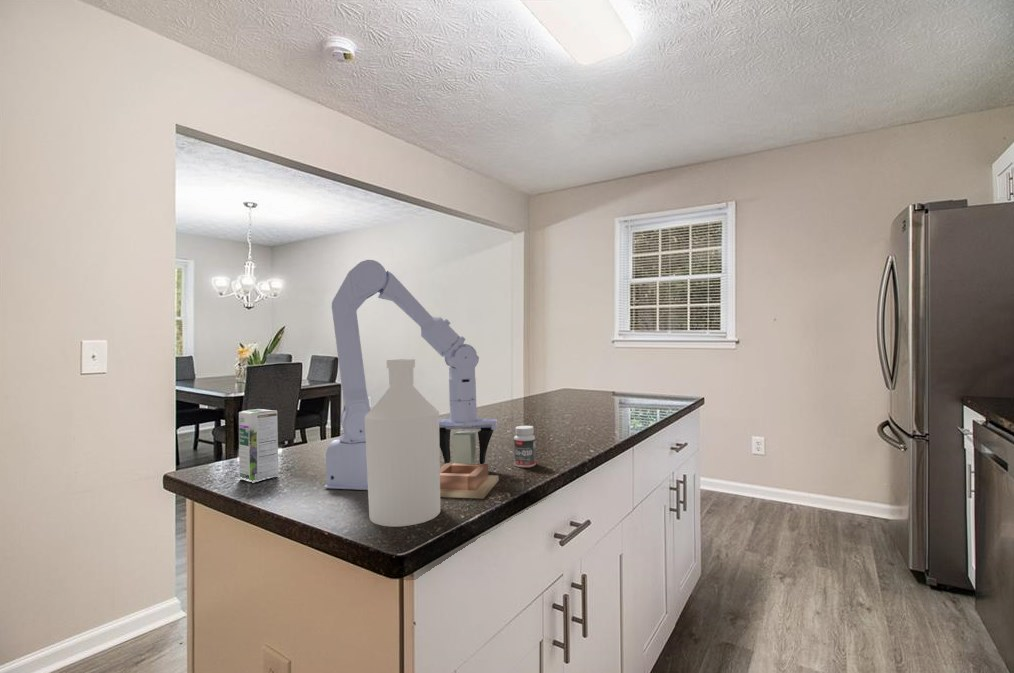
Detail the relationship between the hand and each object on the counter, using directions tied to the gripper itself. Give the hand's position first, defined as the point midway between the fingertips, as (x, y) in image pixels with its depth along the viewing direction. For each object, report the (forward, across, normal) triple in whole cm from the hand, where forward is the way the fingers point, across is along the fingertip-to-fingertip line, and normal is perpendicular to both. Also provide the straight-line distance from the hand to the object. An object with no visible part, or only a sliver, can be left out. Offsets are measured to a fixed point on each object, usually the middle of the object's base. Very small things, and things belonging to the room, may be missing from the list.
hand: (464, 463), depth 105 cm
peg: (+2, 0, 0) cm, 2 cm away
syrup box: (+2, -43, -8) cm, 43 cm away
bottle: (+2, -4, -26) cm, 26 cm away
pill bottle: (+2, +12, +5) cm, 14 cm away
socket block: (+2, +2, -12) cm, 12 cm away
